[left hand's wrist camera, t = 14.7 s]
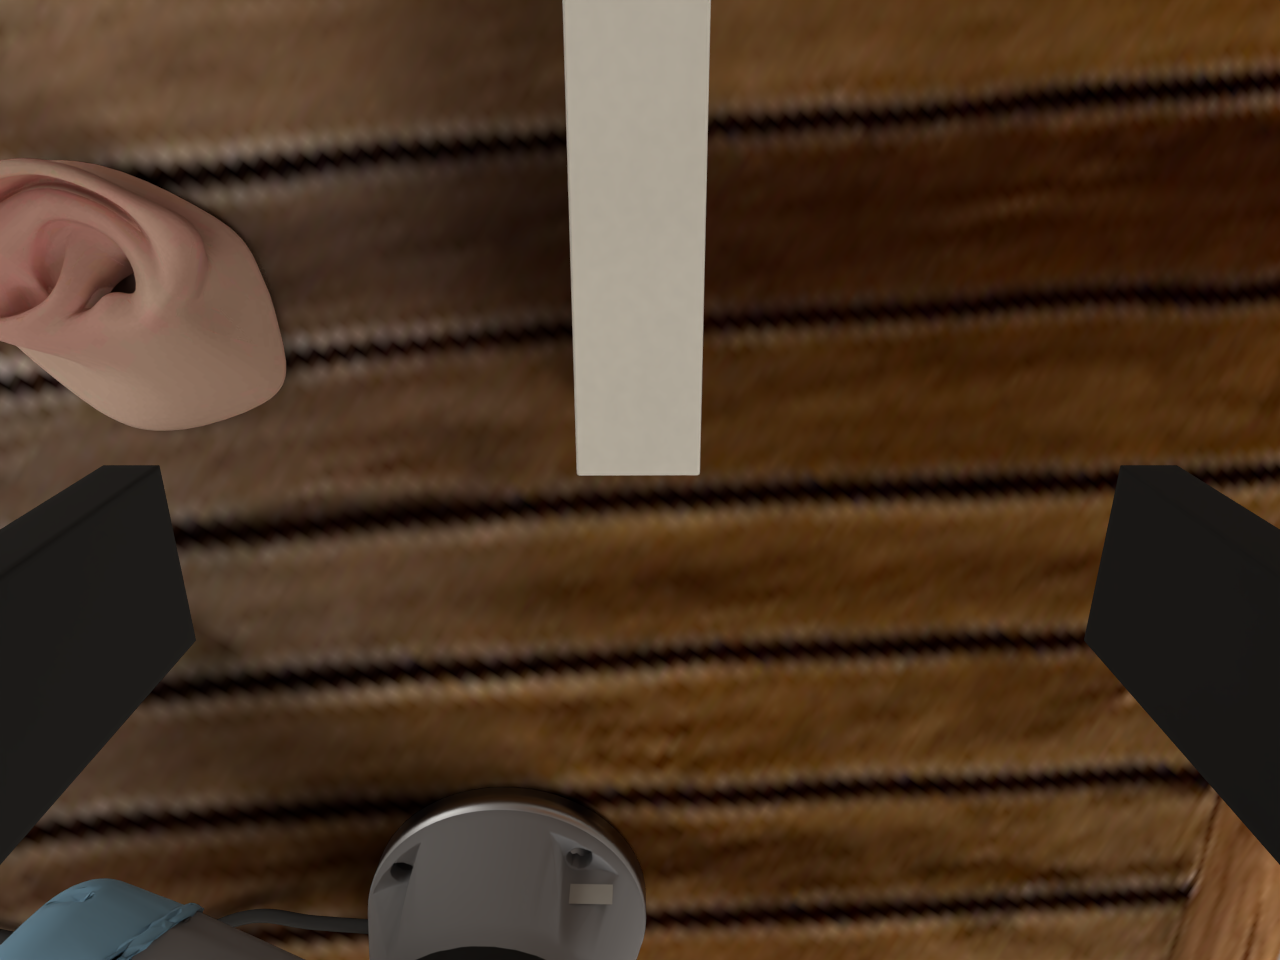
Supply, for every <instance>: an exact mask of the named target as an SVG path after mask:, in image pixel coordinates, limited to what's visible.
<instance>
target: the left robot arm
mask: <svg viewBox="0 0 1280 960" xmlns="http://www.w3.org/2000/svg"><path fill="white" fill-rule="evenodd" d="M195 641H196V638H195V634H194V629H193V624H192V619H191V615H190V610H189V605H188V600H187V595H186V591H185V586H184V581H183V576H182V571H181V567H180V562H179V557H178V552H177V548H176V543H175V538H174V533H173V528H172V524H171V519H170V514H169V509H168V504H167V500H166V495H165V490H164V485H163V481H162V476H161V471H160V466H159V465H103V466H102V467H100V468H98V469H97V470H95V471H94V472H92V473H90V474H89V475H87V476H86V477H84V478H82V479H81V480H79V481H78V482H76V483H74V484H73V485H71V486H70V487H68V488H66V489H65V490H63V491H61V492H60V493H58V494H57V495H55V496H53V497H52V498H50V499H49V500H47V501H45V502H44V503H42V504H41V505H39V506H37V507H36V508H34V509H33V510H31V511H29V512H28V513H26V514H25V515H23V516H21V517H20V518H18V519H16V520H15V521H13V522H12V523H10V524H8V525H7V526H5V527H4V528H2V529H0V864H1V863H2V862H3V861H4V860H5V859H6V857H7V856H8V855H9V854H10V853H11V852H12V851H13V849H14V848H15V847H16V846H17V845H18V844H19V843H20V841H21V840H22V839H23V838H24V837H25V836H26V835H27V833H28V832H29V831H30V830H31V829H32V828H33V826H34V825H35V824H36V823H37V822H38V821H39V820H40V818H41V817H42V816H43V815H44V814H45V813H46V812H47V810H48V809H49V808H50V807H51V806H52V805H53V804H54V802H55V801H56V800H57V799H58V798H59V797H60V796H61V794H62V793H63V792H64V791H65V790H66V789H67V788H68V786H69V785H70V784H71V783H72V782H73V781H74V780H75V778H76V777H77V776H78V775H79V774H80V773H81V771H82V770H83V769H84V768H85V767H86V766H87V765H88V763H89V762H90V761H91V760H92V759H93V758H94V757H95V755H96V754H97V753H98V752H99V751H100V750H101V749H102V747H103V746H104V745H105V744H106V743H107V742H108V741H109V739H110V738H111V737H112V736H113V735H114V734H115V733H116V731H117V730H118V729H119V728H120V727H121V726H122V725H123V723H124V722H125V721H126V720H127V719H128V718H129V716H130V715H131V714H132V713H133V712H134V711H135V710H136V708H137V707H138V706H139V705H140V704H141V703H142V702H143V700H144V699H145V698H146V697H147V696H148V695H149V694H150V692H151V691H152V690H153V689H154V688H155V687H156V686H157V684H158V683H159V682H160V681H161V680H162V679H163V678H164V676H165V675H166V674H167V673H168V672H169V671H170V669H171V668H172V667H173V666H174V665H175V664H176V663H177V661H178V660H179V659H180V658H181V657H182V656H183V655H184V653H185V652H186V651H187V650H188V649H189V648H190V647H191V645H192V644H193V643H194V642H195ZM1084 641H1085V642H1086V643H1087V644H1088V645H1089V647H1090V648H1091V649H1092V650H1093V651H1094V652H1095V653H1096V655H1097V656H1098V657H1099V658H1100V659H1101V660H1102V661H1103V663H1104V664H1105V665H1106V666H1107V667H1108V668H1109V669H1110V671H1111V672H1112V673H1113V674H1114V675H1115V676H1116V678H1117V679H1118V680H1119V681H1120V682H1121V683H1122V684H1123V686H1124V687H1125V688H1126V689H1127V690H1128V691H1129V692H1130V694H1131V695H1132V696H1133V697H1134V698H1135V699H1136V700H1137V702H1138V703H1139V704H1140V705H1141V706H1142V707H1143V708H1144V710H1145V711H1146V712H1147V713H1148V714H1149V715H1150V716H1151V718H1152V719H1153V720H1154V721H1155V722H1156V723H1157V725H1158V726H1159V727H1160V728H1161V729H1162V730H1163V731H1164V733H1165V734H1166V735H1167V736H1168V737H1169V738H1170V739H1171V741H1172V742H1173V743H1174V744H1175V745H1176V746H1177V747H1178V749H1179V750H1180V751H1181V752H1182V753H1183V754H1184V755H1185V757H1186V758H1187V759H1188V760H1189V761H1190V762H1191V763H1192V765H1193V766H1194V767H1195V768H1196V769H1197V770H1198V771H1199V773H1200V774H1201V775H1202V776H1203V777H1204V778H1205V780H1206V781H1207V782H1208V783H1209V784H1210V785H1211V786H1212V788H1213V789H1214V790H1215V791H1216V792H1217V793H1218V794H1219V796H1220V797H1221V798H1222V799H1223V800H1224V801H1225V802H1226V804H1227V805H1228V806H1229V807H1230V808H1231V809H1232V810H1233V812H1234V813H1235V814H1236V815H1237V816H1238V817H1239V818H1240V820H1241V821H1242V822H1243V823H1244V824H1245V825H1246V826H1247V828H1248V829H1249V830H1250V831H1251V832H1252V833H1253V835H1254V836H1255V837H1256V838H1257V839H1258V840H1259V841H1260V843H1261V844H1262V845H1263V846H1264V847H1265V848H1266V849H1267V851H1268V852H1269V853H1270V854H1271V855H1272V856H1273V857H1274V859H1275V860H1276V861H1277V862H1278V863H1279V864H1280V529H1278V528H1276V527H1275V526H1273V525H1272V524H1270V523H1268V522H1267V521H1265V520H1264V519H1262V518H1260V517H1259V516H1257V515H1255V514H1254V513H1252V512H1251V511H1249V510H1247V509H1246V508H1244V507H1243V506H1241V505H1239V504H1238V503H1236V502H1235V501H1233V500H1231V499H1230V498H1228V497H1227V496H1225V495H1223V494H1222V493H1220V492H1219V491H1217V490H1215V489H1214V488H1212V487H1210V486H1209V485H1207V484H1206V483H1204V482H1202V481H1201V480H1199V479H1198V478H1196V477H1194V476H1193V475H1191V474H1190V473H1188V472H1186V471H1185V470H1183V469H1182V468H1180V467H1178V466H1177V465H1121V466H1120V471H1119V476H1118V481H1117V485H1116V490H1115V495H1114V500H1113V504H1112V509H1111V514H1110V519H1109V524H1108V528H1107V533H1106V538H1105V543H1104V548H1103V552H1102V557H1101V562H1100V567H1099V571H1098V576H1097V581H1096V586H1095V591H1094V595H1093V600H1092V605H1091V610H1090V615H1089V619H1088V624H1087V629H1086V634H1085V638H1084ZM203 910H204V908H202V907H201V906H199V905H198V904H195V903H189V904H186V905H183V904H180V903H178V902H175V901H172V900H170V899H167V898H165V897H162V896H159V895H157V894H154V893H152V892H149V891H146V890H144V889H141V888H138V887H136V886H133V885H131V884H128V883H125V882H123V881H119V880H114V879H94V880H89V881H86V882H82V883H80V884H77V885H75V886H72V887H70V888H69V889H67V890H65V891H63V892H61V893H60V894H58V895H57V896H55V897H54V898H52V899H51V900H50V901H48V902H47V903H46V904H45V905H43V906H42V907H41V908H40V909H39V910H37V911H36V912H35V913H34V914H33V915H32V916H31V917H29V918H28V919H27V920H26V921H25V922H24V923H23V924H22V925H21V926H20V927H19V928H18V929H17V930H16V931H14V932H12V931H7V930H2V929H0V944H1V945H0V960H304V959H302V958H300V957H298V956H296V955H293V954H291V953H289V952H287V951H285V950H282V949H280V948H278V947H276V946H274V945H271V944H269V943H267V942H265V941H263V940H260V939H258V938H256V937H254V936H252V935H249V934H247V933H245V932H243V931H241V930H238V929H236V928H234V927H237V926H240V925H245V924H250V923H273V924H279V925H285V926H290V927H296V928H302V929H310V930H322V931H335V932H349V933H364V934H369V954H370V960H636V959H637V956H638V953H639V950H640V947H641V944H642V941H643V938H644V933H645V925H646V892H645V882H644V877H643V873H642V870H641V867H640V864H639V862H638V860H637V858H636V856H635V854H634V852H633V851H632V849H631V847H630V846H629V844H628V843H627V842H626V841H625V839H624V838H623V837H622V836H621V834H620V833H619V832H618V831H617V830H616V829H615V828H614V827H613V826H611V825H610V824H609V823H608V822H607V821H606V820H604V819H603V818H601V817H600V816H599V815H597V814H596V813H594V812H593V811H591V810H589V809H587V808H586V807H584V806H582V805H580V804H578V803H576V802H574V801H571V800H569V799H566V798H563V797H561V796H558V795H555V794H551V793H547V792H543V791H538V790H533V789H526V788H517V787H492V788H482V789H475V790H470V791H465V792H461V793H458V794H454V795H451V796H448V797H446V798H443V799H441V800H438V801H436V802H434V803H432V804H430V805H428V806H426V807H425V808H423V809H422V810H420V811H419V812H417V813H416V814H414V815H413V816H412V817H411V818H409V819H408V820H407V821H406V822H405V823H404V824H403V825H402V826H401V827H400V828H399V829H398V830H397V831H396V833H395V834H394V835H393V836H392V838H391V839H390V841H389V842H388V844H387V846H386V848H385V850H384V852H383V854H382V856H381V859H380V862H379V865H378V867H377V870H376V873H375V876H374V879H373V882H372V885H371V888H370V893H369V899H368V919H356V918H341V917H327V916H315V915H306V914H300V913H294V912H289V911H283V910H276V909H254V910H247V911H242V912H237V913H234V914H231V915H227V916H225V917H223V918H220V919H218V920H216V919H214V918H212V917H210V916H207V915H205V914H203V913H202V912H203Z"/></svg>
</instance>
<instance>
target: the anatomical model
mask: <svg viewBox="0 0 1280 960" xmlns="http://www.w3.org/2000/svg"><path fill="white" fill-rule="evenodd" d="M0 341H3V342H6V343H9V344H12V345H16V346H17V347H18V348H19V349H21V350H22V351H23V352H24V353H25V354H26V355H27V356H28V357H30V358H31V359H32V360H33V361H34V362H35V363H37V364H38V365H39V366H40V367H42V368H43V369H44V370H45V371H46V372H48V373H49V374H50V375H51V376H53V377H54V378H55V379H56V380H58V381H59V382H60V383H61V384H63V385H64V386H65V387H66V388H68V389H69V390H70V391H72V392H73V393H74V394H76V395H77V396H78V397H80V398H81V399H82V400H84V401H85V402H87V403H88V404H90V405H91V406H92V407H94V408H95V409H97V410H98V411H100V412H102V413H103V414H105V415H107V416H109V417H111V418H113V419H115V420H117V421H119V422H121V423H124V424H126V425H129V426H132V427H136V428H140V429H146V430H155V431H167V430H181V429H189V428H194V427H199V426H204V425H208V424H211V423H215V422H218V421H222V420H225V419H228V418H231V417H234V416H236V415H239V414H242V413H244V412H247V411H249V410H251V409H253V408H255V407H257V406H259V405H261V404H263V403H264V402H266V401H268V400H269V399H271V398H272V397H273V396H274V395H275V394H276V393H277V392H278V391H279V390H280V388H281V387H282V385H283V383H284V380H285V376H286V359H285V352H284V345H283V341H282V337H281V333H280V329H279V325H278V321H277V317H276V314H275V310H274V306H273V303H272V300H271V297H270V294H269V291H268V289H267V287H266V284H265V282H264V279H263V277H262V275H261V272H260V270H259V268H258V265H257V263H256V261H255V259H254V257H253V255H252V253H251V252H250V250H249V248H248V247H247V245H246V244H245V242H244V241H243V240H242V239H241V238H240V237H239V236H238V235H237V234H236V233H235V232H234V231H233V230H232V229H231V228H230V227H228V226H227V225H225V224H224V223H223V222H221V221H220V220H218V219H217V218H215V217H214V216H212V215H211V214H209V213H207V212H205V211H204V210H202V209H200V208H198V207H197V206H195V205H193V204H191V203H189V202H187V201H186V200H184V199H182V198H180V197H178V196H176V195H174V194H172V193H170V192H168V191H166V190H164V189H162V188H160V187H157V186H155V185H153V184H151V183H149V182H147V181H144V180H142V179H139V178H137V177H134V176H131V175H129V174H126V173H124V172H121V171H118V170H114V169H111V168H107V167H104V166H100V165H97V164H91V163H84V162H78V161H66V160H43V159H32V158H16V159H6V160H0Z"/></svg>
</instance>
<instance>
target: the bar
mask: <svg viewBox="0 0 1280 960" xmlns="http://www.w3.org/2000/svg"><path fill="white" fill-rule="evenodd" d="M562 2H563V35H564V68H565V100H566V133H567V166H568V199H569V232H570V264H571V297H572V330H573V363H574V396H575V428H576V461H577V474H578V475H699V473H700V442H701V399H702V356H703V313H704V269H705V226H706V183H707V140H708V97H709V54H710V11H711V0H562Z"/></svg>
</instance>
